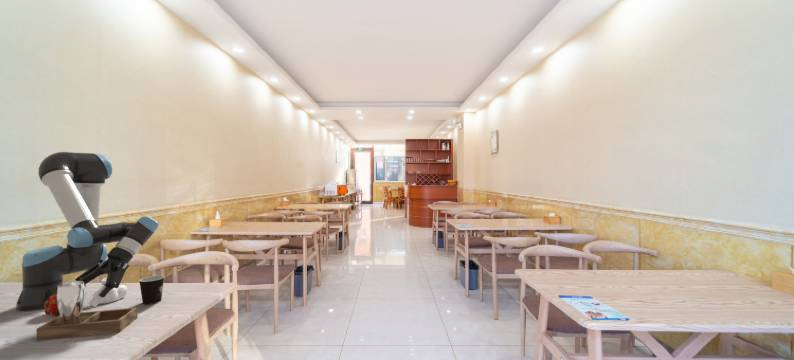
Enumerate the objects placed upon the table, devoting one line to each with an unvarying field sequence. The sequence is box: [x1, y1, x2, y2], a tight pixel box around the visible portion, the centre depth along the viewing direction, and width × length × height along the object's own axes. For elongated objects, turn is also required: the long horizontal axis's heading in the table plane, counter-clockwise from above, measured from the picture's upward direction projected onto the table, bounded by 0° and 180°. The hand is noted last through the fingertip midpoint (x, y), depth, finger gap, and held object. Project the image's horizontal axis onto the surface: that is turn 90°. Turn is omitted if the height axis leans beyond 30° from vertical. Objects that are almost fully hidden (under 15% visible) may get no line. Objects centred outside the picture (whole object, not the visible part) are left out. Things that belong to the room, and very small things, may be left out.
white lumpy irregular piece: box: [92, 276, 128, 305], centre depth 143 cm, size 12×8×11 cm
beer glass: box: [57, 280, 86, 325], centre depth 115 cm, size 7×7×15 cm
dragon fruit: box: [43, 294, 60, 317], centre depth 129 cm, size 8×8×12 cm
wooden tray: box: [36, 307, 138, 342], centre depth 116 cm, size 12×23×4 cm, turn 105°
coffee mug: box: [138, 275, 165, 306], centre depth 143 cm, size 12×9×10 cm
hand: (78, 303), depth 116 cm, fingers open, 13 cm apart
